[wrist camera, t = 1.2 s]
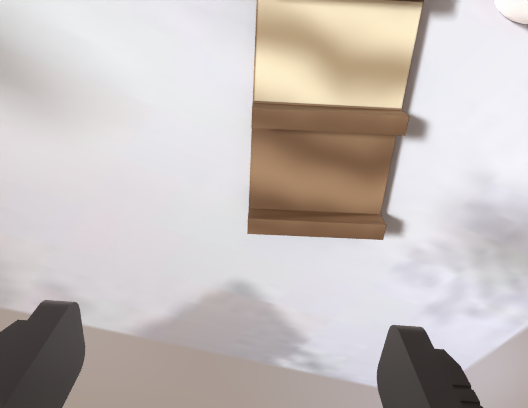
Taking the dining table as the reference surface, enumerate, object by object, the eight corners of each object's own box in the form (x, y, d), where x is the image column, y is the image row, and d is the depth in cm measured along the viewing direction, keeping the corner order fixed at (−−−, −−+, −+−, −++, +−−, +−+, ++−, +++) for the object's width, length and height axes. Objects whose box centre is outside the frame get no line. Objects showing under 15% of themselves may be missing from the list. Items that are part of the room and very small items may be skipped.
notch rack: (265, -213, 25) (265, -240, 22) (458, -200, 25) (482, -225, 22) (248, 217, 38) (247, 233, 35) (374, 223, 38) (383, 239, 35)
